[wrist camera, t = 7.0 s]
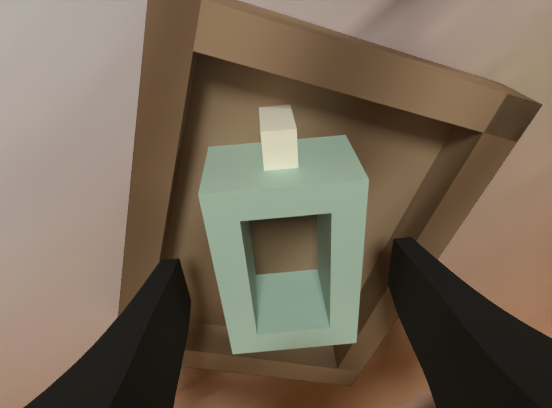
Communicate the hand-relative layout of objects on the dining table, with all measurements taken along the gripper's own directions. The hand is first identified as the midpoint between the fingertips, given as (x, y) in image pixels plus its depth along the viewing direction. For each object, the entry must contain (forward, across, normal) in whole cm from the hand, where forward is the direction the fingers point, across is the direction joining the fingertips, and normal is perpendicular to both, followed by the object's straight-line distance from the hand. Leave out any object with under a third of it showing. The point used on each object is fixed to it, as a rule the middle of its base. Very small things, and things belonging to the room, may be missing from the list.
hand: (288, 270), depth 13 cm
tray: (+3, 0, 0) cm, 3 cm away
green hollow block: (+2, 0, 0) cm, 2 cm away
